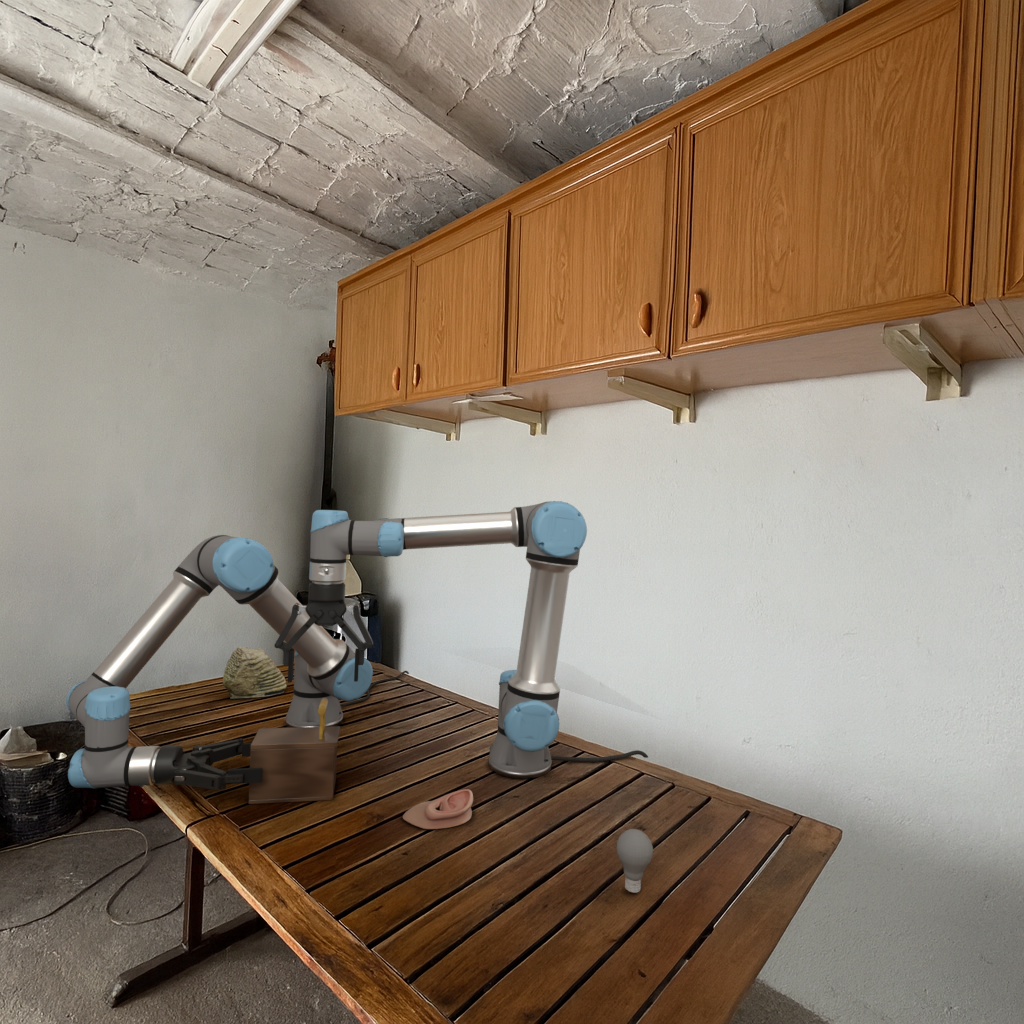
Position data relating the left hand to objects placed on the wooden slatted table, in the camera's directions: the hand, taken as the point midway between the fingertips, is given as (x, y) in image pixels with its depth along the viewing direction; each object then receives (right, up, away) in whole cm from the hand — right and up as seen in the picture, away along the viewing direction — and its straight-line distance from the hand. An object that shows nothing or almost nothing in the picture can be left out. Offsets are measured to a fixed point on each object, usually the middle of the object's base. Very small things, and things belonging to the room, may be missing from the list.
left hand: (268, 761), depth 134 cm
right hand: (+11, +17, +2) cm, 20 cm away
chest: (+5, -7, +1) cm, 9 cm away
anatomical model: (+37, -9, -7) cm, 38 cm away
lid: (+6, +4, +1) cm, 7 cm away
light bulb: (+72, -10, -29) cm, 78 cm away
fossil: (-29, -4, +64) cm, 70 cm away
